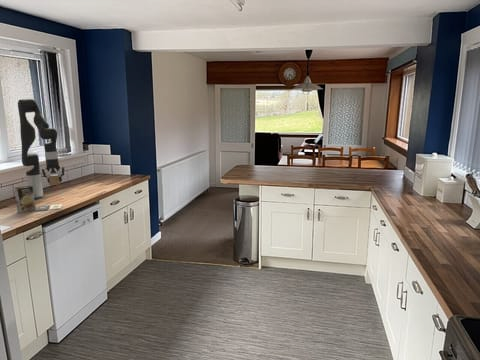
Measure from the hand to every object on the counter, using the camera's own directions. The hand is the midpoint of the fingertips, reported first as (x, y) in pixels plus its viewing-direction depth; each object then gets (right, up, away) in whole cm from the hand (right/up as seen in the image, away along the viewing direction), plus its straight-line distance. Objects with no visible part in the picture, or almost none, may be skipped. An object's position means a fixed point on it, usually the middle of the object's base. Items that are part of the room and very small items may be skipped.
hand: (55, 182), depth 243 cm
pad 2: (+2, -17, -2) cm, 17 cm away
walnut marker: (0, -1, 0) cm, 1 cm away
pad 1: (-6, -18, -5) cm, 19 cm away
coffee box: (-15, -19, -8) cm, 25 cm away
